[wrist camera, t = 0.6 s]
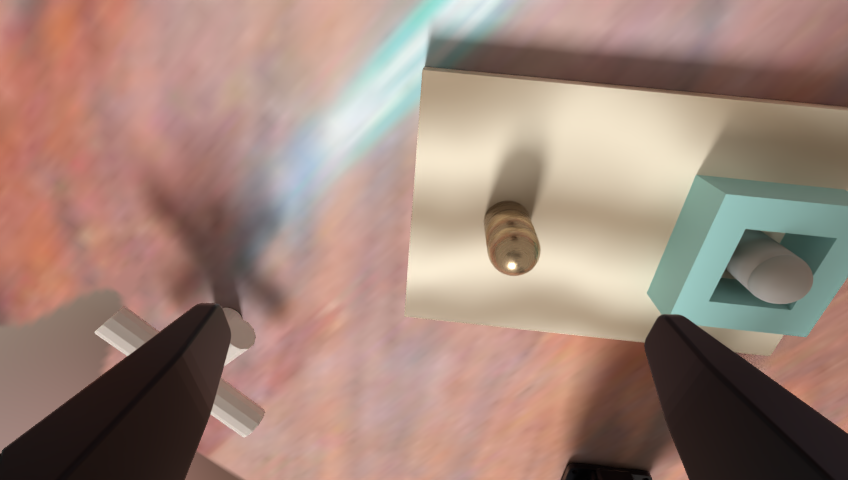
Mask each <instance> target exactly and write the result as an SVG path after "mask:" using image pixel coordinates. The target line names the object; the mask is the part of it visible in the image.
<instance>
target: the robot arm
mask: <svg viewBox="0 0 848 480" xmlns="http://www.w3.org/2000/svg"><path fill="white" fill-rule="evenodd" d="M230 342H231V329H230V327H229V324H228V321H227V318H226V316H225V313H224V310H223V308H222V306H221V305H219V304H214V303H200V304H197V305H195V306H194V307H192V308H191V309H190V310H188V311H187V312H186V313H184V314H183V315H182V316H180V317H179V318H178V319H176V320H175V321H174V322H172V323H171V324H170V325H168V326H167V327H166V328H164V329H163V330H162V331H160V332H159V333H158V334H156V335H155V336H154V337H152V338H151V339H150V340H148V341H147V342H146V343H144V344H143V345H142V346H140V347H139V348H138V349H136V350H135V351H134V352H132V353H131V354H130V355H128V356H127V357H126V358H124V359H123V360H122V361H120V362H119V363H118V364H116V365H115V366H114V367H112V368H111V369H110V370H108V371H107V372H106V373H104V374H103V375H102V376H100V377H99V378H98V379H96V380H95V381H94V382H92V383H91V384H89V385H88V386H87V387H85V388H84V389H83V390H81V391H80V392H79V393H77V394H76V395H75V396H74V397H72V398H71V399H69V400H68V401H67V402H66V403H64V404H63V405H61V406H60V407H59V408H58V409H56V410H55V411H54V412H52V413H51V414H49V415H48V416H47V417H45V418H44V419H43V420H42V421H40V422H39V423H37V424H36V425H35V426H33V427H32V428H31V429H29V430H28V431H27V432H25V433H24V434H23V435H21V436H20V437H19V438H18V439H16V440H15V441H13V442H12V443H11V444H9V445H8V446H7V447H5V448H4V449H3V450H2V453H1V454H0V480H185V478H186V475H187V473H188V470H189V468H190V465H191V462H192V460H193V458H194V455H195V453H196V450H197V448H198V445H199V443H200V440H201V437H202V435H203V432H204V430H205V427H206V425H207V422H208V419H209V417H210V414H211V411H212V408H213V404H214V401H215V397H216V394H217V390H218V386H219V383H220V379H221V375H222V371H223V368H224V364H225V360H226V357H227V353H228V349H229V346H230ZM644 346H645V352H646V356H647V359H648V363H649V366H650V370H651V373H652V377H653V380H654V384H655V387H656V391H657V394H658V397H659V401H660V404H661V408H662V411H663V414H664V417H665V420H666V423H667V425H668V428H669V431H670V433H671V436H672V438H673V441H674V443H675V446H676V448H677V451H678V453H679V456H680V458H681V460H682V463H683V465H684V468H685V470H686V473H687V475H688V478H689V480H848V433H846V432H845V431H843V430H842V429H841V428H839V427H838V426H836V425H835V424H834V423H832V422H831V421H829V420H828V419H827V418H825V417H824V416H823V415H821V414H820V413H818V412H817V411H816V410H814V409H813V408H811V407H810V406H809V405H807V404H806V403H804V402H803V401H802V400H800V399H799V398H797V397H796V396H795V395H793V394H792V393H791V392H789V391H788V390H786V389H785V388H784V387H782V386H781V385H779V384H778V383H777V382H775V381H774V380H772V379H771V378H770V377H768V376H767V375H765V374H764V373H763V372H761V371H760V370H759V369H757V368H756V367H754V366H753V365H752V364H750V363H749V362H747V361H746V360H745V359H743V358H742V357H740V356H739V355H738V354H736V353H735V352H733V351H732V350H731V349H729V348H728V347H726V346H725V345H724V344H722V343H721V342H720V341H718V340H717V339H715V338H714V337H713V336H711V335H710V334H708V333H707V332H706V331H704V330H703V329H701V328H700V327H699V326H697V325H696V324H694V323H693V322H692V321H690V320H689V319H688V318H686V317H684V316H682V315H679V314H661V315H660V316H658V317H657V319H656V321H655V323H654V324H653V326H652V328H651V330H650V331H649V333H648V335H647V337H646V339H645V345H644ZM562 480H652V477H651V475H650V473H649V472H647V471H641V470H632V469H623V468H614V467H606V466H597V465H588V464H580V463H571V464H569V465H568V466H567V469H566V471H565V474H564V476H563V479H562Z"/></svg>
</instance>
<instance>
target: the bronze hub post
mask: <svg viewBox="0 0 848 480" xmlns="http://www.w3.org/2000/svg"><path fill="white" fill-rule="evenodd" d="M484 231H485V238H486V245H487V253H488V257H489V260H490V262H491V264H492V265H493V267H494V268H495V269H496V270H498V271H499V272H501V273H503V274H505V275H509V276H519V275H523V274H526V273H528V272H529V271H531V270H532V269H533V268H534V267H535V265H536V264H537V262H538V260H539V258H540V253H541V247H540V243H539V240H538V237H537V234H536V232H535V229H534V226H533V224H532V221H531V218H530V216H529V213H528V211H527V210H526V208H525V207H524V206H523V205H521V204H520V203H517V202H514V201H502V202H499V203H496V204H495V205H493V206H492V207H491V208H490V209H489V210H488V211H487V212H486V214H485V217H484Z"/></svg>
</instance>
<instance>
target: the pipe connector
mask: <svg viewBox="0 0 848 480" xmlns="http://www.w3.org/2000/svg"><path fill="white" fill-rule="evenodd" d="M223 310H224V313H225V316H226V318H227V321H228V324H229V327H230V329H231V342H230V346H229V349H228V353H227V357H226V360H225V364H224V366H225V365H227V364H228V363H229V362H231V361H232V360H233V359H235V358H236V357H238V356H239V355H240V354H242V353H243V352H245V351H246V350H247V349H249V348H250V347H251V346H252V345H254V342H255V338H256V336H255V332H254V329H253V328H252V327H251V325H250V324H249V323H248V322H246V321H244V320H242V317H241V315H240V314H239V313H238V312H237V311H235V310H233V309H231V308H223ZM94 333H95V334H96V335H98V336H99V337H101V338H102V339H104V340H105V341H106V342H108V343H109V344H111V345H112V346H114V347H115V348H116V349H118V350H119V351H121V352H122V353H124V354H125V355H126V356H128V355H130V354H131V353H132V352H134V351H135V350H136V349H138V348H139V347H140V346H142V345H143V344H144V343H146V342H147V341H148V340H150V339H151V338H152V337H154V336H155V335H156V334H158V333H159V331H158V330H156V329H155V328H154V327H152V326H151V325H150V324H148V323H147V322H146V321H144V320H143V319H141V318H140V317H139V316H137V315H136V314H135V313H133V312H132V311H131V310H129V309H128V308H127V307H125V306H123V307H122V308H121V309H120V310H119V311H118V312H116V313H115V314H114V315H113V316H112V317H111V318H110V319H108V320H107V321H106V322H105V323H104V324H103V325H102V326H101V327H100V328H99V329H97V330H96V331H95V332H94ZM264 413H265V411H264V409H263V408H261V407H260V406H259V405H257V404H256V403H254V402H253V401H252V400H250V399H249V398H248V397H246V396H245V395H244V394H242V393H241V392H240V391H238V390H237V389H236V388H234V387H233V386H232V385H230V384H229V383H228V382H226V381H225V380H224V379H222V378H221V379H220V383H219V386H218V390H217V394H216V397H215V401H214V404H213V408H212V411H211V415H212V416H214V417H215V418H216V419H218V420H219V421H221V422H222V423H224V424H225V425H226V426H228V427H229V428H231V429H232V430H234V431H235V432H236V433H238V434H239V435H241V436H242V437H246V436H248V435H249V434H250V433H252V432H253V431H254V430H255V428H256V427H257V426H258V425H259V423H260V422H261V420H262V418H263V416H264Z"/></svg>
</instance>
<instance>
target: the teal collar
mask: <svg viewBox="0 0 848 480" xmlns="http://www.w3.org/2000/svg"><path fill="white" fill-rule="evenodd" d="M745 229H751V230H761V231H771V232H781V233H785V235H784V237H783V239H782V240H781V242H780V244H781V245H782V246H784V247H785V248H787V249H788V250H789V251H791V252H792V253H794V254H795V255H797V256H798V257H800V258H801V259H802V260H804V261H805V262H806V263H807V264H808V266H809V267H810V269H811V271H812V274H813V285H812V287H811V289H810V291H809V292H808V293H807V294H806V295H805V296H804V297H803V298H801V299H800V300H798V301H795V302H792V303H788V304H773V303H769V302H765V301H763V300H761V299H759V298H757V297H756V296H754V295H753V294H752V293H751V292H750V291H749V290H748V289H747V288H745V287H744V286H743V285H742V284H741V283H740V282H739V281H738V280H737V279H729V278H721V276H722V274H723V272H724V271H725V269H726V267H727V265H728V263H729V261H730V259H731V257H732V255H733V253H734V251H735V249H736V247H737V245H738V243H739V241H740V239H741V237H742V235H743V233H744V231H745ZM847 277H848V191H846V190H844V189H834V188H824V187H814V186H804V185H794V184H784V183H774V182H764V181H754V180H744V179H734V178H724V177H714V176H704V175H696V176H695V178H694V181H693V183H692V186H691V188H690V190H689V193H688V195H687V198H686V200H685V202H684V205H683V207H682V210H681V212H680V214H679V217H678V219H677V222H676V224H675V226H674V229H673V231H672V234H671V236H670V238H669V241H668V243H667V246H666V248H665V251H664V253H663V255H662V258H661V260H660V263H659V265H658V267H657V270H656V272H655V275H654V277H653V279H652V282H651V284H650V287H649V289H648V291H647V295H648V296H649V297H650V299H651V300H652V302H653V303H654V305H655V306H656V307H657V309H658V310H659V312H660V313H661V314H679V315H682V316H684V317H686V318H688V319H689V320H690V321H692V322H693V323H694V324H696V325H698V326H708V327H717V328H726V329H736V330H745V331H754V332H764V333H773V334H782V335H792V336H801V337H807V336H808V334H809V333H810V331H811V330H812V328H813V327H814V325H815V324H816V322H817V321H818V320H819V318H820V317H821V315H822V314H823V312H824V311H825V309H826V308H827V306H828V305H829V303H830V302H831V301H832V299H833V298H834V296H835V295H836V293H837V292H838V290H839V289H840V287H841V286H842V284H843V283H844V282H845V280H846V279H847Z"/></svg>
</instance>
